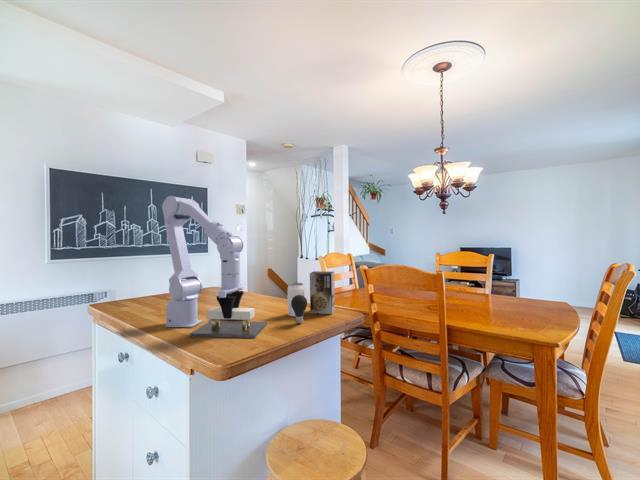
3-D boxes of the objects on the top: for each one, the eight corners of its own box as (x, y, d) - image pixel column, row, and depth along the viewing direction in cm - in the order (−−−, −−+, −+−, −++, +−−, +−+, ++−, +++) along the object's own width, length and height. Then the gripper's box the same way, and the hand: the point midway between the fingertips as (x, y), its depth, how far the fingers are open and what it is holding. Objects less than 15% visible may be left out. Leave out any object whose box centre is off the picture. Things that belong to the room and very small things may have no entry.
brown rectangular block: (216, 319, 111) (216, 311, 111) (219, 317, 114) (219, 309, 114) (248, 320, 110) (248, 311, 110) (251, 317, 113) (251, 309, 113)
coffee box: (335, 310, 124) (335, 271, 124) (332, 314, 118) (332, 273, 118) (313, 309, 126) (313, 270, 126) (309, 313, 120) (309, 272, 120)
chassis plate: (190, 336, 92) (190, 323, 92) (210, 323, 106) (210, 312, 106) (255, 338, 90) (255, 324, 90) (266, 324, 104) (266, 313, 104)
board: (206, 318, 96) (206, 311, 96) (213, 315, 101) (213, 307, 101) (250, 319, 95) (250, 311, 95) (254, 315, 100) (254, 308, 100)
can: (301, 317, 114) (301, 285, 114) (285, 316, 115) (285, 284, 115) (306, 313, 120) (305, 282, 120) (290, 312, 121) (290, 282, 121)
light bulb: (292, 326, 102) (292, 296, 102) (290, 321, 108) (290, 293, 108) (308, 325, 103) (308, 296, 103) (306, 321, 109) (305, 293, 109)
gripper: (234, 276, 90) (235, 322, 90) (249, 271, 105) (249, 310, 105) (211, 276, 91) (212, 321, 91) (229, 271, 105) (229, 310, 105)
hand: (230, 315), depth 98 cm, fingers open, 5 cm apart
